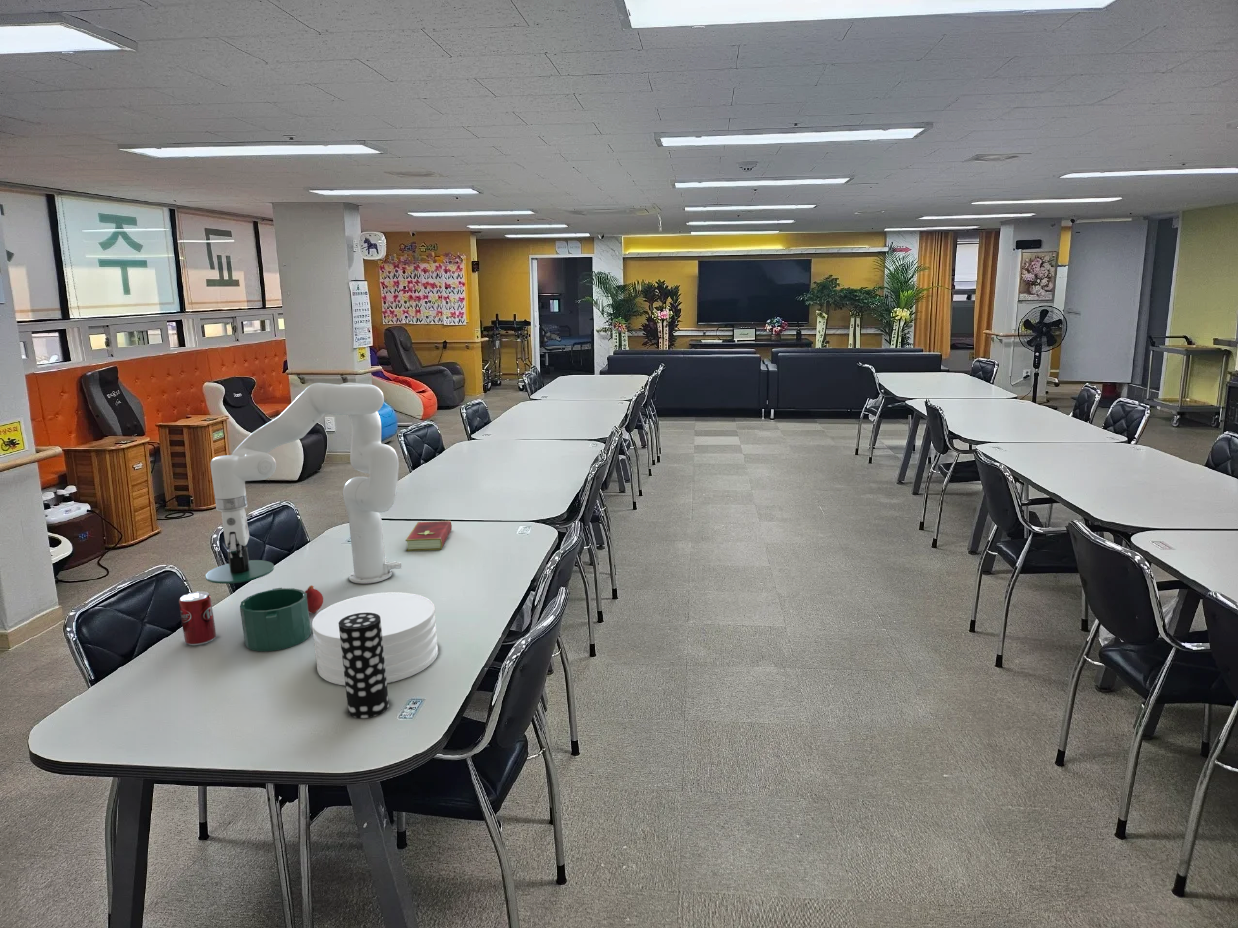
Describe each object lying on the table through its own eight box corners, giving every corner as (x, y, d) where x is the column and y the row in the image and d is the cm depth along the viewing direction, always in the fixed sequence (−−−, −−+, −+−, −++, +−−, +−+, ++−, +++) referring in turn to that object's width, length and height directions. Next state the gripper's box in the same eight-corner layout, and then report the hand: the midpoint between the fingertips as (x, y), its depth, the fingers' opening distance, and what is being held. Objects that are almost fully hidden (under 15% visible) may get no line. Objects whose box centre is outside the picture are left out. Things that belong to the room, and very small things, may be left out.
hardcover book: (452, 531, 298) (451, 519, 297) (442, 549, 278) (441, 537, 277) (418, 532, 298) (417, 521, 297) (406, 551, 277) (405, 539, 277)
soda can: (185, 648, 206) (178, 603, 204) (185, 638, 213) (178, 594, 210) (217, 642, 210) (210, 598, 207) (216, 632, 216) (209, 589, 213)
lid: (276, 561, 231) (273, 536, 229) (271, 580, 215) (268, 554, 214) (211, 568, 226) (207, 543, 224) (201, 589, 210) (197, 562, 209)
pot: (312, 618, 223) (307, 581, 221) (309, 649, 204) (304, 610, 202) (250, 626, 219) (245, 589, 216) (240, 660, 199) (235, 619, 197)
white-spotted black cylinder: (353, 699, 179) (343, 613, 174) (392, 697, 179) (383, 611, 175) (344, 719, 170) (334, 629, 166) (384, 716, 171) (375, 627, 167)
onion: (317, 617, 223) (313, 590, 222) (297, 616, 224) (294, 589, 223) (328, 609, 229) (325, 582, 227) (309, 608, 230) (306, 581, 228)
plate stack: (373, 697, 179) (369, 648, 177) (291, 668, 194) (286, 623, 191) (462, 648, 202) (458, 604, 200) (382, 625, 217) (378, 585, 214)
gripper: (243, 509, 209) (251, 576, 213) (250, 493, 225) (258, 556, 229) (211, 512, 207) (220, 580, 211) (220, 496, 223) (228, 560, 227)
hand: (239, 567), depth 220 cm, fingers closed on lid, 4 cm apart
